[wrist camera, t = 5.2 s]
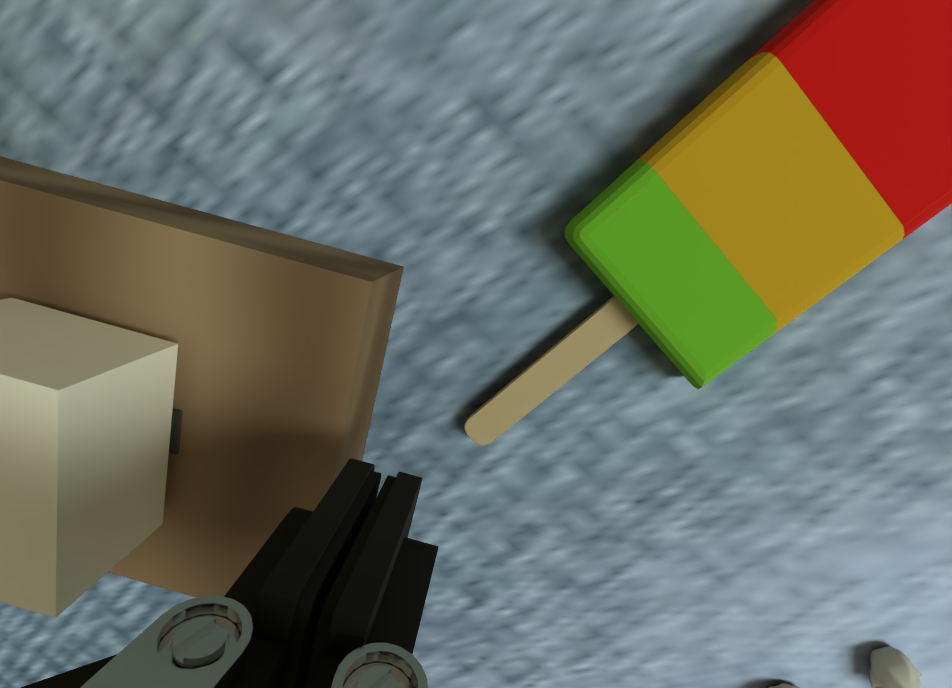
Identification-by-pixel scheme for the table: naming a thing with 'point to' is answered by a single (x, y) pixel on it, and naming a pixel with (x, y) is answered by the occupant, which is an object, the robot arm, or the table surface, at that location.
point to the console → (213, 353)
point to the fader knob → (77, 450)
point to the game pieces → (887, 670)
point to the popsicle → (763, 195)
